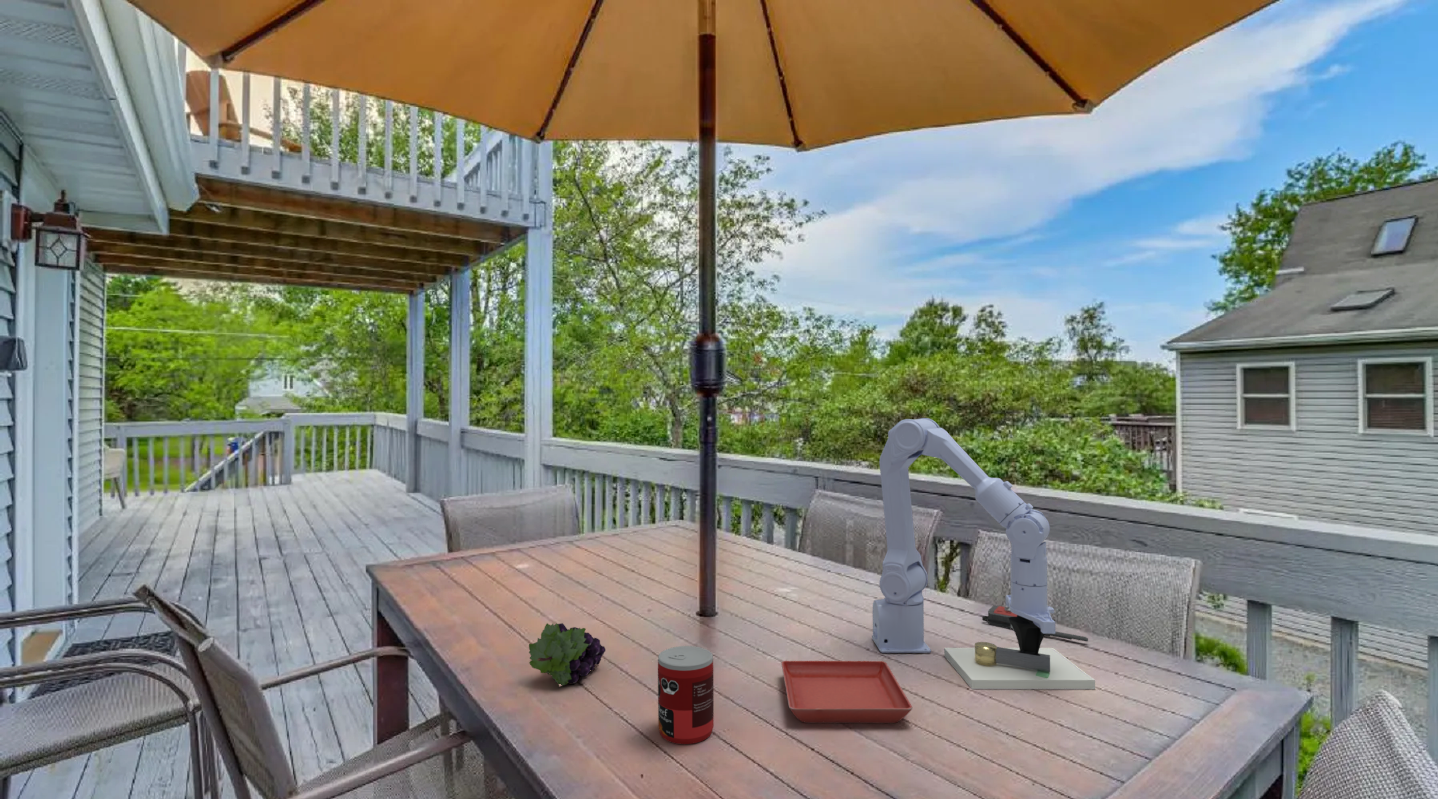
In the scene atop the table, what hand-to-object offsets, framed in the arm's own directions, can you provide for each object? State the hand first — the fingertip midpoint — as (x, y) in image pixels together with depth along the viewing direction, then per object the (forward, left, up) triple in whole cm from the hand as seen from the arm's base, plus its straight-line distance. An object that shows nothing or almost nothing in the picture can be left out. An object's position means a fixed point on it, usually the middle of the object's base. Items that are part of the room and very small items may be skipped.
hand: (1029, 660), depth 112 cm
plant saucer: (-34, -10, -3) cm, 35 cm away
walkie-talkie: (+11, +22, -3) cm, 25 cm away
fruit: (-79, -1, -3) cm, 79 cm away
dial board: (-2, +1, -2) cm, 3 cm away
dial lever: (-3, -1, -1) cm, 3 cm away
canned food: (-58, -20, -3) cm, 61 cm away
